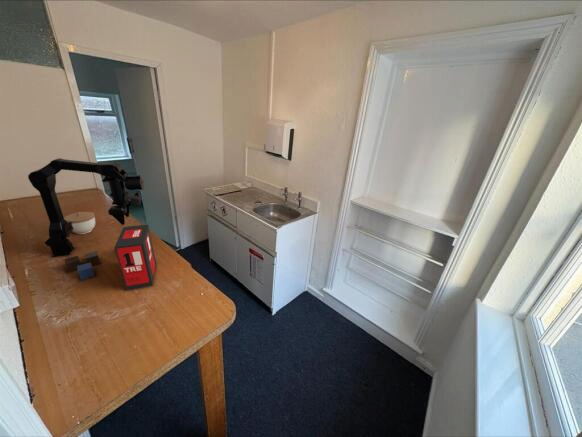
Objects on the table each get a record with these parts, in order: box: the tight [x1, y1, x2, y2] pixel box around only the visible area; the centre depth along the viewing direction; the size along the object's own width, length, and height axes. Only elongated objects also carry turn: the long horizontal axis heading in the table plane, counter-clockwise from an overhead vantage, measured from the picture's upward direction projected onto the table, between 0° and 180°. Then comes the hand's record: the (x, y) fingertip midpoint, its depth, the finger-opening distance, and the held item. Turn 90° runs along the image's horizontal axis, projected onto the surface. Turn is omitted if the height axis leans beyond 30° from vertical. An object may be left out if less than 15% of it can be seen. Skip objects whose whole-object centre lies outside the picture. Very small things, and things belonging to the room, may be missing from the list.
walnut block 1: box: [64, 255, 82, 273], centre depth 100 cm, size 4×4×4 cm
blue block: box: [77, 262, 95, 281], centre depth 97 cm, size 4×4×4 cm
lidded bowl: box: [63, 211, 97, 235], centre depth 127 cm, size 13×13×11 cm
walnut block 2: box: [84, 250, 101, 267], centre depth 104 cm, size 4×4×4 cm
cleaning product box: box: [114, 224, 157, 291], centre depth 96 cm, size 16×9×20 cm, turn 23°
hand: (125, 220), depth 114 cm, fingers open, 9 cm apart
